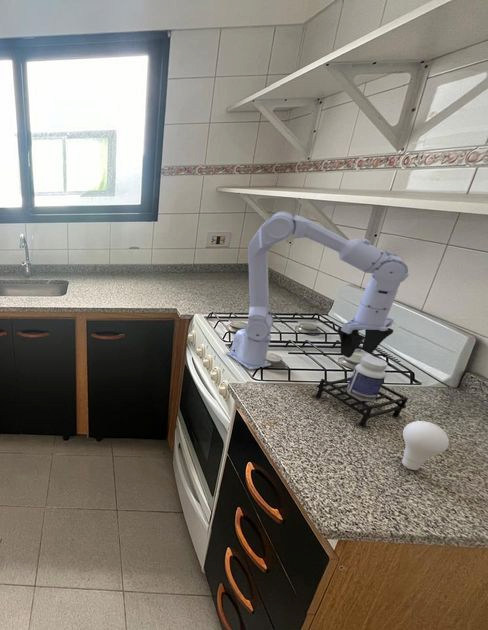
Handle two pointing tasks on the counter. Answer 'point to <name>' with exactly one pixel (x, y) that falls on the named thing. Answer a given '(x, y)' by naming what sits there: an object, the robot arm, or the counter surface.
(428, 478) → the counter surface
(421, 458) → the lightbulb
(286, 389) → the counter surface
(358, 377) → the pill bottle
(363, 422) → the wire rack
